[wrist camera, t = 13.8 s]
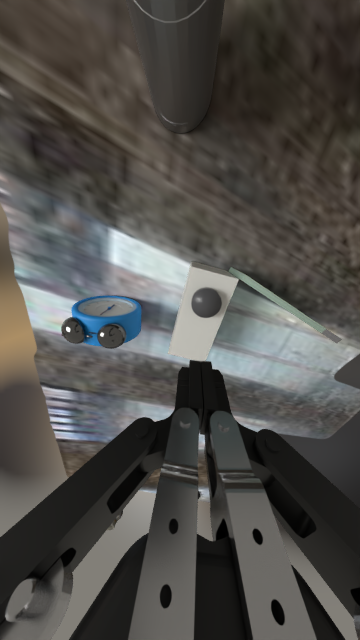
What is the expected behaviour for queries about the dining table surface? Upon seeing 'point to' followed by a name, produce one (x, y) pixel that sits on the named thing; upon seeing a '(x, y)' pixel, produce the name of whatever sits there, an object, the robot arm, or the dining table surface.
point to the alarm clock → (103, 321)
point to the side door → (284, 304)
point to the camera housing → (201, 310)
